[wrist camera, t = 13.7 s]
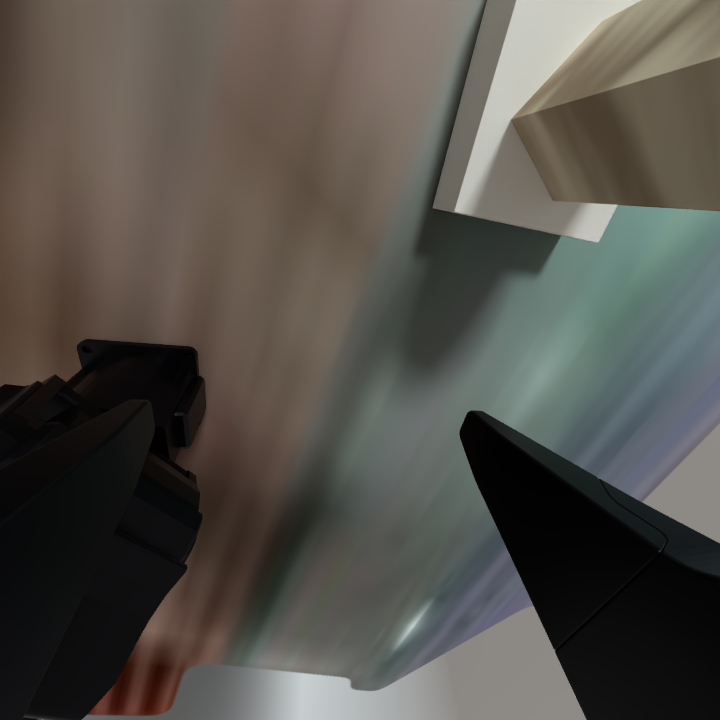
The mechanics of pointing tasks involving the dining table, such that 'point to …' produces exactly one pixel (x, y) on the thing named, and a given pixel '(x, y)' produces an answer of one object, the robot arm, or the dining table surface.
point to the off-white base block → (502, 101)
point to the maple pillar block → (634, 111)
